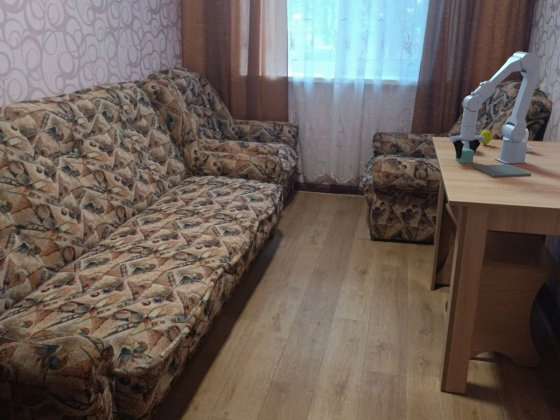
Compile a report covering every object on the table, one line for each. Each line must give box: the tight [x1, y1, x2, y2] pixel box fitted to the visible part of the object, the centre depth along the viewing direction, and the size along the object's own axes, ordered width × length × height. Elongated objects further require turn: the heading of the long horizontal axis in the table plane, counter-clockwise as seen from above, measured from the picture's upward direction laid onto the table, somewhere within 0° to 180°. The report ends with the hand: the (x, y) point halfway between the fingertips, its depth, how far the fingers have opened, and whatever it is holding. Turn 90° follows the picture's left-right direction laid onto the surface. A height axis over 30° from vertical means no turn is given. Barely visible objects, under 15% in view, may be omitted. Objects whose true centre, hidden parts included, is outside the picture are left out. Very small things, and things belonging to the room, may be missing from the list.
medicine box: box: [462, 132, 477, 149], centre depth 242 cm, size 8×4×9 cm, turn 168°
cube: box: [455, 148, 475, 164], centre depth 223 cm, size 5×5×5 cm
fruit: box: [479, 128, 493, 146], centre depth 253 cm, size 6×6×8 cm
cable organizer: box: [523, 128, 533, 153], centre depth 244 cm, size 5×10×10 cm, turn 90°
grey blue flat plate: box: [472, 163, 532, 178], centre depth 209 cm, size 16×14×1 cm
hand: (464, 158), depth 223 cm, fingers closed on cube, 5 cm apart
